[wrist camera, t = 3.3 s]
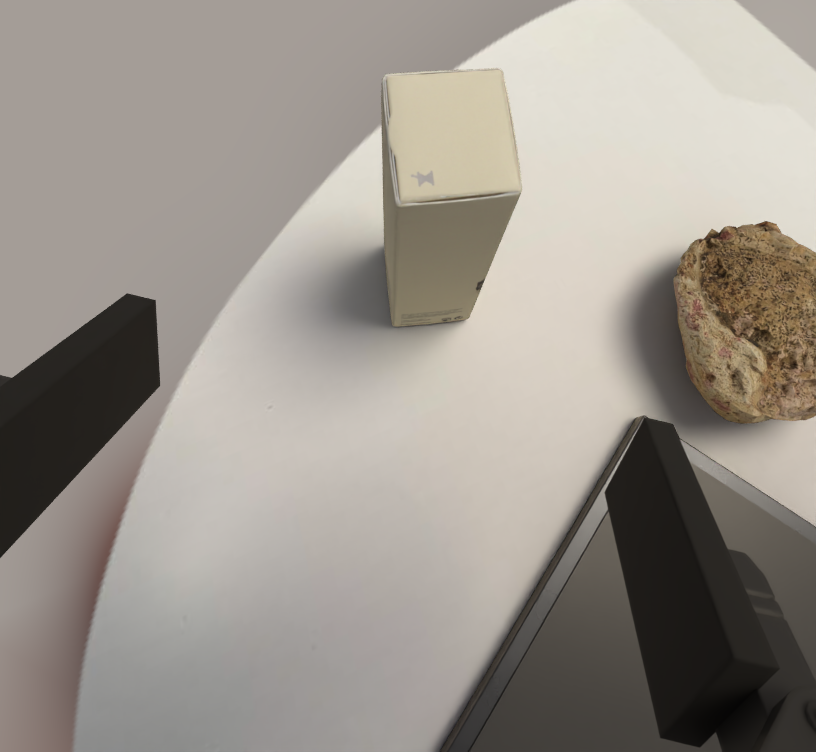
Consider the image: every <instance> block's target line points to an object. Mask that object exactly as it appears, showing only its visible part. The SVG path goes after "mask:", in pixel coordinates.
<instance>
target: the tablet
mask: <svg viewBox="0 0 816 752" xmlns="http://www.w3.org/2000/svg"><path fill="white" fill-rule="evenodd" d="M644 417H646V416H640V417H637V418H636V419H635V421H634V422H633V424H632V426H631V427H630V429H629V431H628V432H627V434H626V436H625V438H624V439H623V441H622V443H621V444H620V446H619V448H618V449H617V451H616V453H615V455H614V456H613V458H612V460H611V461H610V463H609V465H608V467H607V468H606V470H605V472H604V473H603V475H602V477H601V478H600V480H599V482H598V484H597V485H596V487H595V489H594V490H593V492H592V494H591V495H590V497H589V499H588V501H587V502H586V504H585V506H584V507H583V509H582V511H581V512H580V514H579V516H578V518H577V519H576V521H575V523H574V524H573V526H572V528H571V529H570V531H569V533H568V535H567V536H566V538H565V540H564V541H563V543H562V545H561V547H560V548H559V550H558V552H557V553H556V555H555V557H554V558H553V560H552V562H551V564H550V565H549V567H548V569H547V570H546V572H545V574H544V575H543V577H542V579H541V581H540V582H539V584H538V586H537V587H536V589H535V591H534V592H533V594H532V596H531V598H530V599H529V601H528V603H527V604H526V606H525V608H524V610H523V611H522V613H521V615H520V616H519V618H518V620H517V621H516V623H515V625H514V627H513V628H512V630H511V632H510V633H509V635H508V637H507V638H506V640H505V642H504V644H503V645H502V647H501V649H500V650H499V652H498V654H497V655H496V657H495V659H494V661H493V662H492V664H491V666H490V667H489V669H488V671H487V672H486V674H485V676H484V678H483V679H482V681H481V683H480V684H479V686H478V688H477V690H476V691H475V693H474V695H473V696H472V698H471V700H470V701H469V703H468V705H467V707H466V708H465V710H464V712H463V713H462V715H461V717H460V718H459V720H458V722H457V724H456V725H455V727H454V729H453V730H452V732H451V734H450V735H449V737H448V739H447V741H446V742H445V744H444V746H443V747H442V749H441V751H440V752H722V750H721V747H720V743H719V740H718V737H717V734H716V732H715V733H714V734H713V735H712V736H711V737H710V738H709V739H708V740H707V741H706V742H705V743H704V744H703V745H702V746H701V747H700V748H699V747H695V746H691V745H686V744H682V743H678V742H674V741H670V740H666V739H662V738H660V735H659V731H658V726H657V722H656V717H655V713H654V709H653V704H652V700H651V695H650V691H649V687H648V682H647V678H646V673H645V669H644V665H643V660H642V656H641V651H640V647H639V643H638V638H637V634H636V629H635V625H634V621H633V616H632V612H631V607H630V603H629V599H628V594H627V590H626V585H625V581H624V577H623V572H622V568H621V563H620V559H619V555H618V550H617V546H616V541H615V537H614V533H613V528H612V524H611V519H610V515H609V511H608V506H607V502H606V497H605V493H604V492H605V490H606V488H607V486H608V484H609V483H610V481H611V479H612V477H613V475H614V473H615V471H616V469H617V468H618V466H619V464H620V462H621V460H622V458H623V456H624V454H625V453H626V451H627V449H628V447H629V445H630V443H631V441H632V440H633V438H634V436H635V434H636V432H637V430H638V428H639V426H640V425H641V423H642V421H643V419H644ZM646 418H648V417H646ZM679 439H680V438H679ZM680 441H681V443H682V445H683V448H684V450H685V452H686V455H687V457H688V459H689V461H690V464H691V466H692V468H693V471H694V473H695V475H696V477H697V480H698V482H699V484H700V487H701V489H702V491H703V493H704V496H705V498H706V500H707V503H708V505H709V507H710V509H711V512H712V514H713V516H714V519H715V521H716V523H717V525H718V528H719V530H720V532H721V535H722V537H723V539H724V541H725V544H726V546H727V548H728V549H730V550H734V551H739V552H743V553H746V554H747V555H748V556H749V557H750V559H751V560H752V561H753V562H754V563H755V564H756V565H757V567H758V568H759V569H760V570H761V571H762V572H763V574H764V575H765V577H766V579H767V581H768V583H769V585H770V587H771V589H772V591H773V593H774V595H775V601H777V602H778V604H779V606H780V608H781V610H782V612H783V614H784V620H787V622H788V624H789V626H790V628H791V630H792V633H793V635H794V637H795V639H796V641H797V643H798V645H799V647H800V649H801V651H802V653H803V655H804V657H805V659H806V662H807V664H808V666H809V668H810V670H811V672H812V674H813V676H814V678H815V680H816V527H815V526H814V525H812V524H811V523H809V522H807V521H806V520H804V519H803V518H801V517H800V516H798V515H797V514H795V513H794V512H792V511H791V510H789V509H788V508H786V507H784V506H783V505H781V504H780V503H778V502H777V501H775V500H774V499H772V498H771V497H769V496H768V495H766V494H764V493H763V492H761V491H760V490H758V489H757V488H755V487H754V486H752V485H751V484H749V483H748V482H746V481H745V480H743V479H741V478H740V477H738V476H737V475H735V474H734V473H732V472H731V471H729V470H728V469H726V468H725V467H723V466H721V465H720V464H718V463H717V462H715V461H714V460H712V459H711V458H709V457H708V456H706V455H705V454H703V453H702V452H700V451H698V450H697V449H695V448H694V447H692V446H691V445H689V444H688V443H686V442H685V441H683V440H682V439H680Z"/></svg>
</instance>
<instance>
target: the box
mask: <svg viewBox="0 0 816 752" xmlns="http://www.w3.org/2000/svg"><path fill="white" fill-rule="evenodd" d="M381 96H382V97H381V103H382V104H381V105H382V106H381V107H382V158H383V211H384V249H385V266H386V277H387V287H388V296H389V305H390V313H391V321H392V325H393V326H395V327H398V326H411V325H422V324H431V323H441V322H451V321H458V320H465V319H468V318H469V316H470V314H471V312H472V310H473V307H474V305H475V302H476V300H477V297H478V295H479V293H480V290H481V288H482V285H483V283H484V280H485V278H486V275H487V273H488V271H489V268H490V266H491V263H492V261H493V258H494V256H495V254H496V251H497V249H498V246H499V244H500V242H501V239H502V237H503V234H504V232H505V230H506V227H507V225H508V222H509V220H510V218H511V215H512V213H513V211H514V208H515V206H516V203H517V201H518V199H519V196H520V194H521V191H522V183H521V174H520V166H519V159H518V152H517V146H516V139H515V132H514V126H513V120H512V115H511V109H510V103H509V98H508V93H507V88H506V84H505V80H504V74H503V71H502V70H501V69H499V68H491V69H475V70H473V69H471V70H450V71H426V72H413V73H412V72H411V73H395V74H386V75H384V77H383V79H382V95H381Z"/></svg>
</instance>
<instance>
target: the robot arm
mask: <svg viewBox="0 0 816 752" xmlns="http://www.w3.org/2000/svg"><path fill="white" fill-rule="evenodd" d="M159 386H160V373H159V355H158V337H157V319H156V301H155V300H152V299H148V298H144V297H140V296H136V295H131V294H126V295H124V296H123V297H122V298H120V299H119V300H118V301H116V302H115V303H114V304H112V305H111V306H109V307H108V308H107V309H106V310H104V311H103V312H101V313H100V314H99V315H97V316H96V317H95V318H93V319H92V320H90V321H89V322H88V323H86V324H85V325H84V326H82V327H81V328H79V329H78V330H77V331H75V332H74V333H73V334H71V335H70V336H69V337H67V338H66V339H64V340H63V341H62V342H60V343H59V344H58V345H56V346H55V347H54V348H52V349H51V350H50V351H48V352H47V353H45V354H44V355H43V356H41V357H40V358H39V359H37V360H36V361H35V362H33V363H32V364H31V365H29V366H28V367H26V368H25V369H24V370H22V371H21V372H19V373H18V374H17V375H16V376H14V377H13V378H10V377H6V376H2V375H0V558H1V557H2V555H3V554H4V553H5V552H6V551H7V550H8V549H9V548H10V547H11V546H12V545H13V544H14V543H15V541H16V540H17V539H18V538H19V537H20V536H21V535H22V534H23V533H24V532H25V531H26V530H27V529H28V527H29V526H30V525H31V524H32V523H33V522H34V521H35V520H36V519H37V518H38V517H39V516H40V514H41V513H42V512H43V511H44V510H45V509H46V508H47V507H48V506H49V505H50V504H51V503H52V502H53V500H54V499H55V498H56V497H57V496H58V495H59V494H60V493H61V492H62V491H63V490H64V489H65V488H66V487H67V485H68V484H69V483H70V482H71V481H72V480H73V479H74V478H75V477H76V476H77V475H78V474H79V472H80V471H81V470H82V469H83V468H84V467H85V466H86V465H87V464H88V463H89V462H90V461H91V460H92V458H93V457H94V456H95V455H96V454H97V453H98V452H99V451H100V450H101V449H102V448H103V447H104V446H105V444H106V443H107V442H108V441H109V440H110V439H111V438H112V437H113V436H114V435H115V434H116V433H117V431H118V430H119V429H120V428H121V427H122V426H123V425H124V424H125V423H126V422H127V421H128V420H129V419H130V417H131V416H132V415H133V414H134V413H135V412H136V411H137V410H138V409H139V408H140V407H141V406H142V404H143V403H144V402H145V401H146V400H147V399H148V398H149V397H150V396H151V395H152V394H153V393H154V392H155V390H156V389H157V388H158V387H159ZM604 493H605V497H606V502H607V506H608V511H609V515H610V519H611V524H612V528H613V533H614V537H615V541H616V546H617V550H618V555H619V559H620V563H621V568H622V572H623V577H624V581H625V585H626V590H627V594H628V599H629V603H630V607H631V612H632V616H633V621H634V625H635V629H636V634H637V638H638V643H639V647H640V651H641V656H642V660H643V665H644V669H645V673H646V678H647V682H648V687H649V691H650V695H651V700H652V704H653V709H654V713H655V717H656V722H657V726H658V731H659V735H660V738H662V739H666V740H670V741H674V742H678V743H682V744H686V745H691V746H695V747H699V748H700V747H701V746H702V745H703V744H704V743H705V742H706V741H707V740H708V739H709V738H710V737H711V736H712V735H713V734H714V733H715V732H716V734H717V737H718V740H719V743H720V747H721V750H722V752H816V680H815V678H814V676H813V674H812V672H811V670H810V668H809V666H808V664H807V662H806V659H805V657H804V655H803V653H802V651H801V649H800V647H799V645H798V643H797V641H796V639H795V637H794V635H793V633H792V630H791V628H790V626H789V624H788V622H787V620H784V614H783V612H782V610H781V608H780V606H779V604H778V602H777V601H775V595H774V593H773V591H772V589H771V587H770V585H769V583H768V581H767V579H766V577H765V575H764V574H763V572H762V571H761V570H760V569H759V568H758V567H757V565H756V564H755V563H754V562H753V561H752V560H751V559H750V557H749V556H748V555H747V554H746V553H743V552H739V551H734V550H730V549H728V548H727V546H726V544H725V541H724V539H723V537H722V535H721V532H720V530H719V528H718V525H717V523H716V521H715V519H714V516H713V514H712V512H711V509H710V507H709V505H708V503H707V500H706V498H705V496H704V493H703V491H702V489H701V487H700V484H699V482H698V480H697V477H696V475H695V473H694V471H693V468H692V466H691V464H690V461H689V459H688V457H687V455H686V452H685V450H684V448H683V445H682V443H681V441H680V439H679V436H678V434H677V432H676V429H675V427H674V425H673V424H671V423H667V422H662V421H658V420H654V419H650V418H646V417H644V419H643V421H642V423H641V425H640V426H639V428H638V430H637V432H636V434H635V436H634V438H633V440H632V441H631V443H630V445H629V447H628V449H627V451H626V453H625V454H624V456H623V458H622V460H621V462H620V464H619V466H618V468H617V469H616V471H615V473H614V475H613V477H612V479H611V481H610V483H609V484H608V486H607V488H606V490H605V492H604Z"/></svg>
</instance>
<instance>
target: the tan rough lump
mask: <svg viewBox="0 0 816 752" xmlns="http://www.w3.org/2000/svg"><path fill="white" fill-rule="evenodd" d="M677 273H678V274H677V275H676V276H675V277H674V290H675V297H676V301H677V307H678V325H679V329H680V331H681V336H682V340H683V347H684V352H685V357H686V358H687V361H686V369H687V371H688V374H689V377H690V379H691V381H692V382H693V383H694V385H695V386H696V388H697V389H698V391H699V392H700V394H701V395H702V396H703V398H704V399H705V400H706V402H707V403H708V404H709V405H710V406H711V408H712V409H713V410H714V411H715V412H716V413H717V414H719V415H720V416H722V417H723V418H724V419H726V420H728V421H731V422H736V423H741V424H743V423H756V422H757V423H758V422H762V421H766V420H769V419H779V420H789V421H796V420H807V419H809V418H812V417H814V416H816V253H815V252H813V251H812V250H810V249H809V248H807V247H805V246H803V245H800V244H798V243H797V242H795V241H794V240H793V239H792V238H790V237H788V236H786V235H784V234H782V233H781V231H780V230H779V228H778V226H777V225H776V224H774V223H771V222H767V221H765V222H762V223H759V224H757V225H753V224H750V225H743V226H740V227H738V228H736V227H731V226H727V227H724V228H723V229H722V230H721V232H720V233H718V232H716V231H715V230H713V229H711V231H710V232H709V233H708V235H707V236H706V237H705V239H698V240H696V241H694V242H693V243H692V244H691V245H690V247H689V248H688V250H687V251H686V252H685V253H684V254H683V256H682V257H681V264H680V265H679V267H678V269H677Z"/></svg>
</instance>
